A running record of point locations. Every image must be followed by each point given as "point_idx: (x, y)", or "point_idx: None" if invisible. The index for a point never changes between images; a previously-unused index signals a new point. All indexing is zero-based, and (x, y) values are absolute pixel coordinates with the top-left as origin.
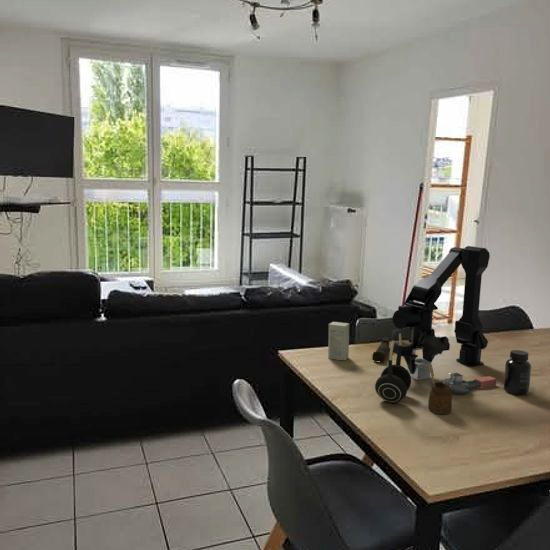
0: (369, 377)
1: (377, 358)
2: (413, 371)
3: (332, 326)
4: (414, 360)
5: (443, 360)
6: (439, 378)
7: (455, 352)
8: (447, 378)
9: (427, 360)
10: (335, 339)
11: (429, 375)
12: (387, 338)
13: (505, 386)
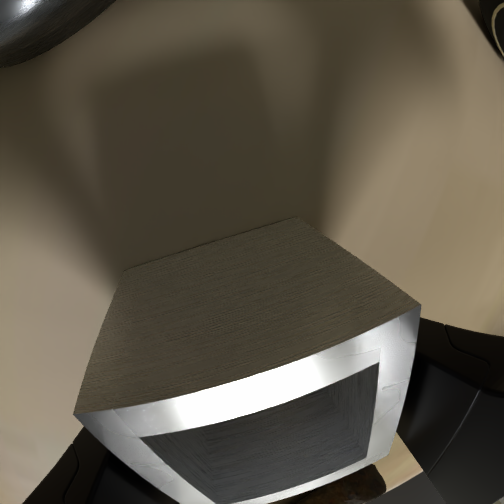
0: (500, 281)
1: (368, 471)
2: None
3: None
4: (482, 375)
5: (28, 473)
6: (37, 257)
7: (5, 489)
8: (9, 22)
9: (131, 479)
10: None
11: (129, 281)
12: None
13: None
